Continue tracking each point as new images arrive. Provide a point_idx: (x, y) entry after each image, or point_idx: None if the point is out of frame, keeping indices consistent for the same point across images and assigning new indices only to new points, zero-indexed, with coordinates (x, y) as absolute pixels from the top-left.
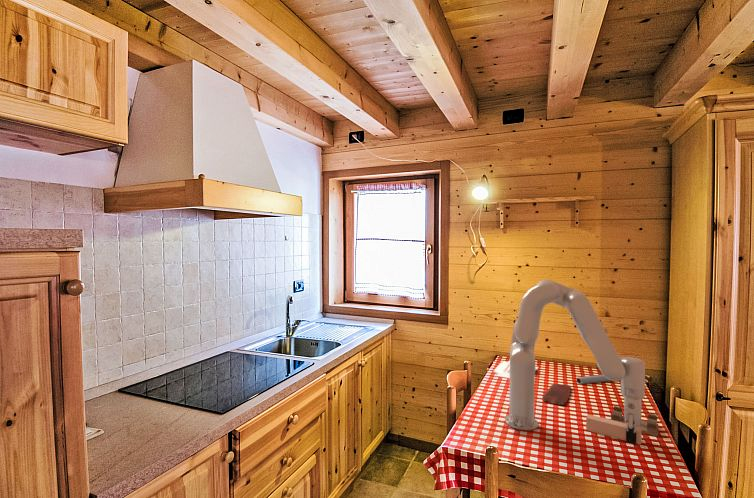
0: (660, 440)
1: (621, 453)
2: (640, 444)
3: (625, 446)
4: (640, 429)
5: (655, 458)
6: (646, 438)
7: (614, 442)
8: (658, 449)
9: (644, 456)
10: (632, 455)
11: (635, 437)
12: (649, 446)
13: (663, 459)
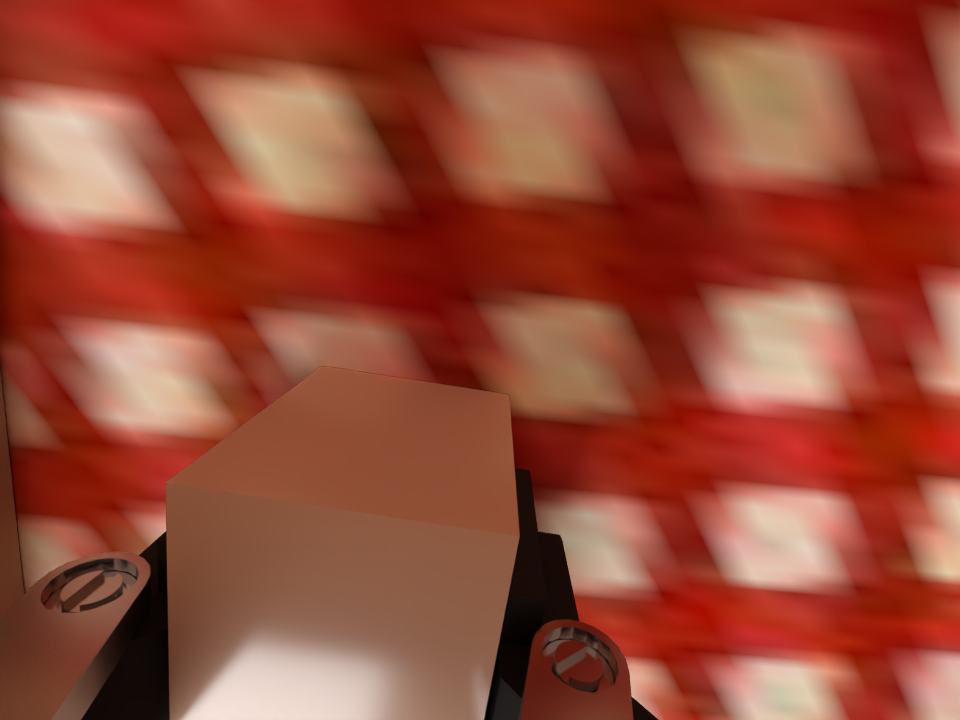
0: (119, 29)
1: (933, 666)
2: (507, 400)
3: (679, 601)
4: (377, 536)
5: (955, 228)
6: (194, 277)
7: None
8: (559, 126)
9: (933, 390)
10: (952, 546)
11: (535, 537)
12: (507, 267)
13: (954, 92)
